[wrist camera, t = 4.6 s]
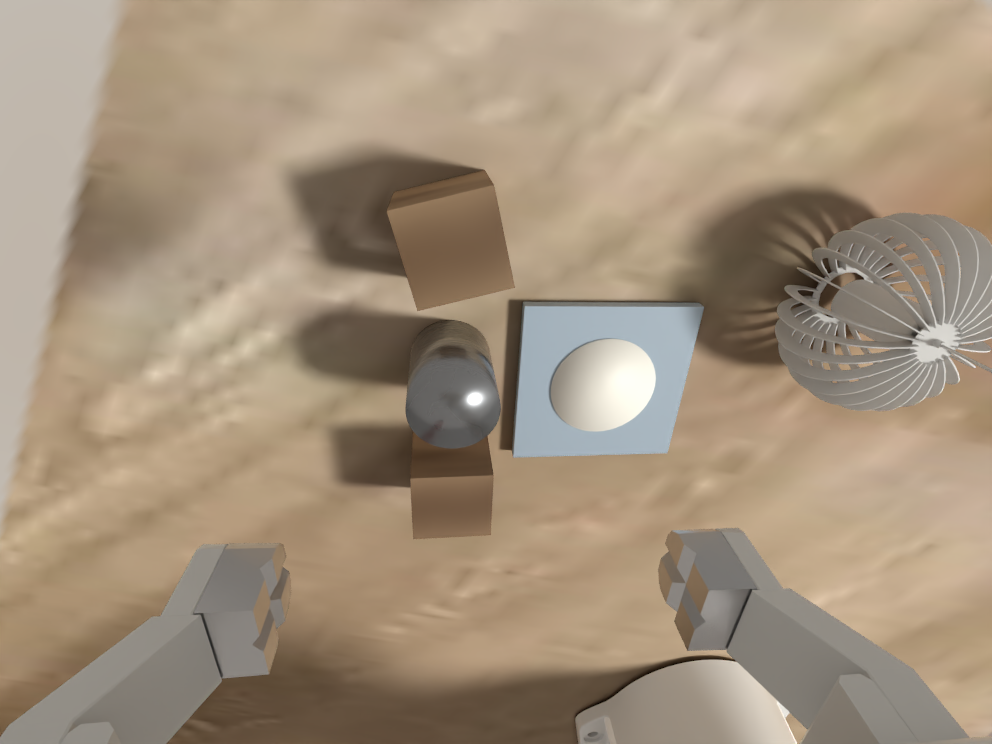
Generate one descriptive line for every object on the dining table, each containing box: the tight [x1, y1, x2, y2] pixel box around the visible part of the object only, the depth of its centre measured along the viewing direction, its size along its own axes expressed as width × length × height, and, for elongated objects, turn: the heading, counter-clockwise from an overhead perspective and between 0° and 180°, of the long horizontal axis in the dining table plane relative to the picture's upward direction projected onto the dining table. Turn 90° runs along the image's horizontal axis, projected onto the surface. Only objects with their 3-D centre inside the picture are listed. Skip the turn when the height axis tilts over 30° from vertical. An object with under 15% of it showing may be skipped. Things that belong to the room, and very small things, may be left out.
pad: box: [512, 302, 704, 457], centre depth 27 cm, size 9×9×1 cm
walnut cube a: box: [410, 432, 493, 539], centre depth 28 cm, size 4×4×4 cm
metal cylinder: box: [406, 320, 501, 449], centre depth 24 cm, size 4×4×5 cm
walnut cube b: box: [387, 170, 515, 311], centre depth 21 cm, size 4×4×4 cm
